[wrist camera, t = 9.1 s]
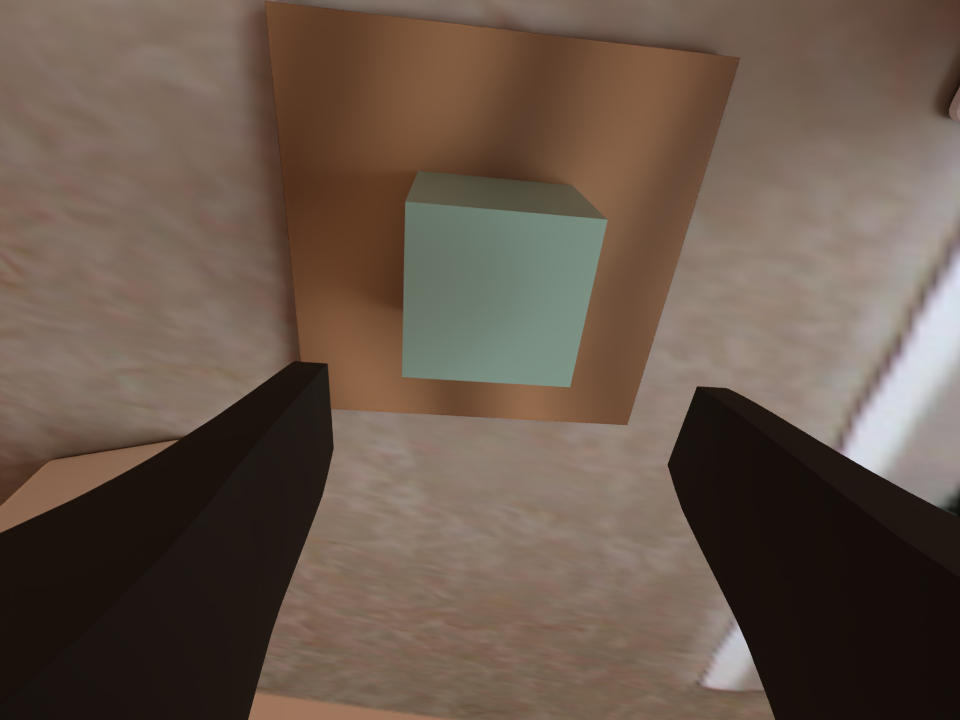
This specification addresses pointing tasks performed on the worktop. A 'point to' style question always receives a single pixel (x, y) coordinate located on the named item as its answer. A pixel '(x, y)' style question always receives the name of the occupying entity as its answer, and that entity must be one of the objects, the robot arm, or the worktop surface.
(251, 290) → the worktop surface
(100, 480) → the medicine bottle
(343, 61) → the board
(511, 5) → the worktop surface
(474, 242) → the sage green cube
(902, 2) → the worktop surface
